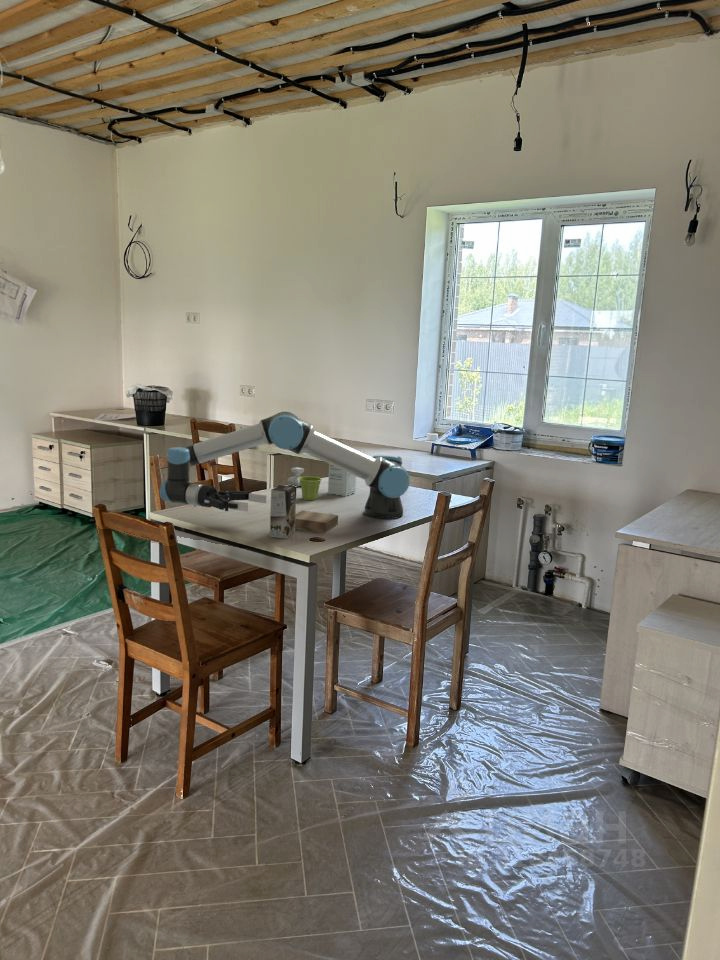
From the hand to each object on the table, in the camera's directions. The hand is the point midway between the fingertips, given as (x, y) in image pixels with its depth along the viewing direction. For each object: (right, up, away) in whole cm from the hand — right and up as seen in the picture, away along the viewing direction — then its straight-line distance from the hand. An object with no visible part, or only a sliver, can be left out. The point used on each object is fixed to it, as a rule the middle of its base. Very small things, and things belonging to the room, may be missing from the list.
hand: (257, 503), depth 228 cm
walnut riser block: (+18, -9, +12) cm, 23 cm away
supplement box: (+27, +2, +67) cm, 72 cm away
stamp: (+6, +5, +77) cm, 78 cm away
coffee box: (+9, -11, -1) cm, 14 cm away
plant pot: (+14, 0, +53) cm, 55 cm away
